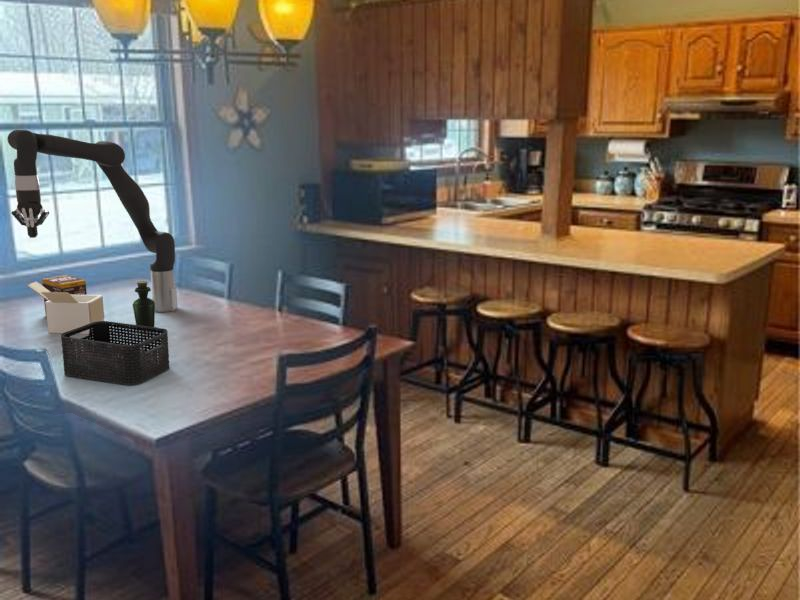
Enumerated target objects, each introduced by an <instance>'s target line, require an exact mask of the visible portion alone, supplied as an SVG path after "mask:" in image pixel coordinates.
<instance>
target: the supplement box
mask: <svg viewBox="0 0 800 600" xmlns="http://www.w3.org/2000/svg"><path fill="white" fill-rule="evenodd" d="M41 281H42V284H41V285H42V286H43V287H45V288H46V289H47V290H49V291H50V292H68V293H69V294H70V295H88V294H87V284H86V283H87V282H86V279H82V278H78V277H75V276H71V275H67V274H66V275H58V276H53V277H47V278H41ZM43 299H44V300H43V302H44V303H43V304H44V311H45V312H44V313H45V316H46V317H47V314H46V305H45V302H46V301H48V300H49V299H48V300H46V299H45V298H44V297H43Z"/></svg>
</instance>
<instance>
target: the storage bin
mask: <svg viewBox="0 0 800 600" xmlns="http://www.w3.org/2000/svg"><path fill="white" fill-rule="evenodd" d="M92 328H93V329H92ZM89 329H90V330H89ZM86 330H89V334H87V335H86V336H82V337H80V338H78V337H72V336H75V335H78V333H81V332H83V331H86ZM60 338H61V339H60V340H61V348H62V351H61V352H62V360H63V374H64V375H65V376H68V377H70V378H71V377H72V378H77V379H78V378H79V379H84V380H91V381H96V382H102V383H109V384H114V385H115V384H116V385H122V386H137V385H141V384H143V383H145V382H147V381H150V380H151V379H153V378H155V377H157V376H159V375H161V374H163V373H165V372H168V371H169V369H170V357H169V356H170V353H169V340H168V339H169V336H168V329H166V328H162V327H155V326H154V327H147V326H140V325H136V324H133V323H132V324H131V323H125V322H116V321H110V320H109V321H108V320H104V321H98V322H93V323H90V324H87V325H85V326H82V327H79V328H76V329H73V330H70V331H67V332H65V333H60Z"/></svg>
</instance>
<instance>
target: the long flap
mask: <svg viewBox="0 0 800 600" xmlns="http://www.w3.org/2000/svg"><path fill="white" fill-rule="evenodd" d="M41 293H42V294H43V295H44V296H45V297H47V298H48V299H49V300H50V301H51V302H52V303H78V301H77V300H75V299H74V298H73V297H72V296H71V295H70V294H69V293H68V292H41Z"/></svg>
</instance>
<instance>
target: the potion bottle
mask: <svg viewBox="0 0 800 600" xmlns="http://www.w3.org/2000/svg"><path fill="white" fill-rule="evenodd" d="M136 284H137V287H135V289H134V292H135V293H137V294H138V298H137V299H136V300H134V301H133V303H132V310H133V315H134V320H135V325H140V326H147V327H155V322H156V321H155V319H156V318H155V317H156V314H155V313H156V311H155V302H154V301H153V299H152V298H149V297H148V295H149V292H152V288H151V286H148V281H147V280H140V281H136Z"/></svg>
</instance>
